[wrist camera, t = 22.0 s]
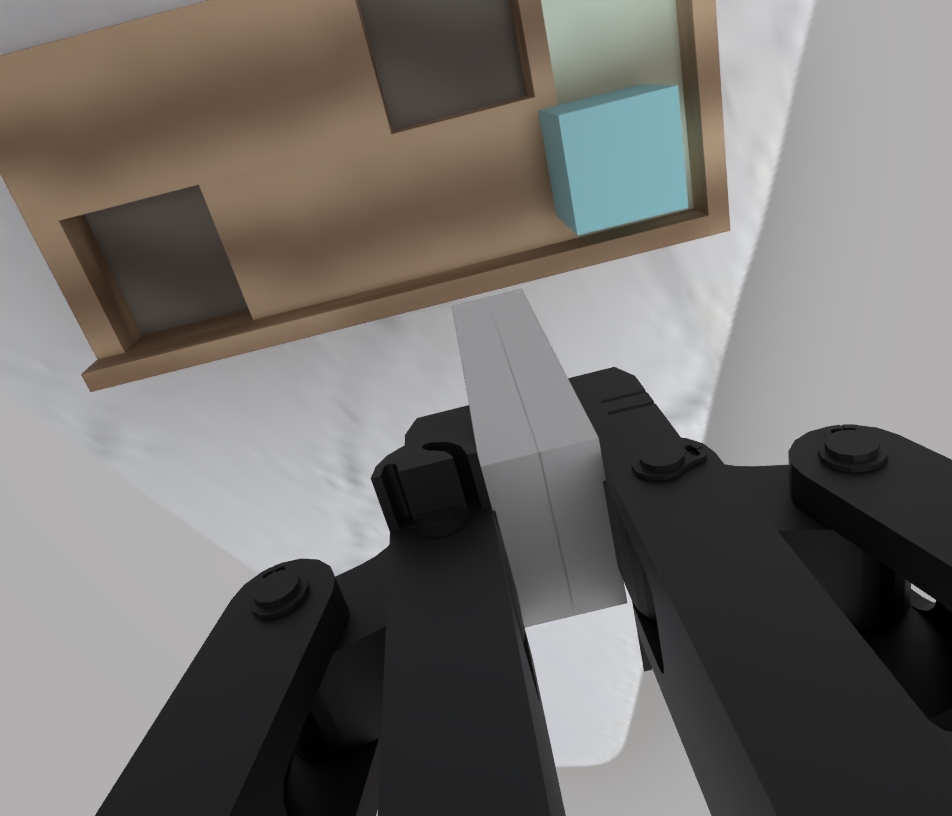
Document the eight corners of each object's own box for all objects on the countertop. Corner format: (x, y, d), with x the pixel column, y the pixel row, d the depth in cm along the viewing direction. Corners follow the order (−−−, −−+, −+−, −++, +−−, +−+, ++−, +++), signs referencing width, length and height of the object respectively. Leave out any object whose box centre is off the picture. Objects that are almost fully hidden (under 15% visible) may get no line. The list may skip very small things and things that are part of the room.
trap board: (-16, 70, 33) (-84, 69, 28) (664, -111, 32) (706, -141, 27) (127, 355, 39) (90, 391, 35) (693, 212, 38) (730, 230, 34)
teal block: (537, 110, 33) (558, 115, 28) (641, 84, 32) (677, 85, 28) (556, 214, 35) (577, 235, 30) (652, 190, 35) (688, 207, 30)
